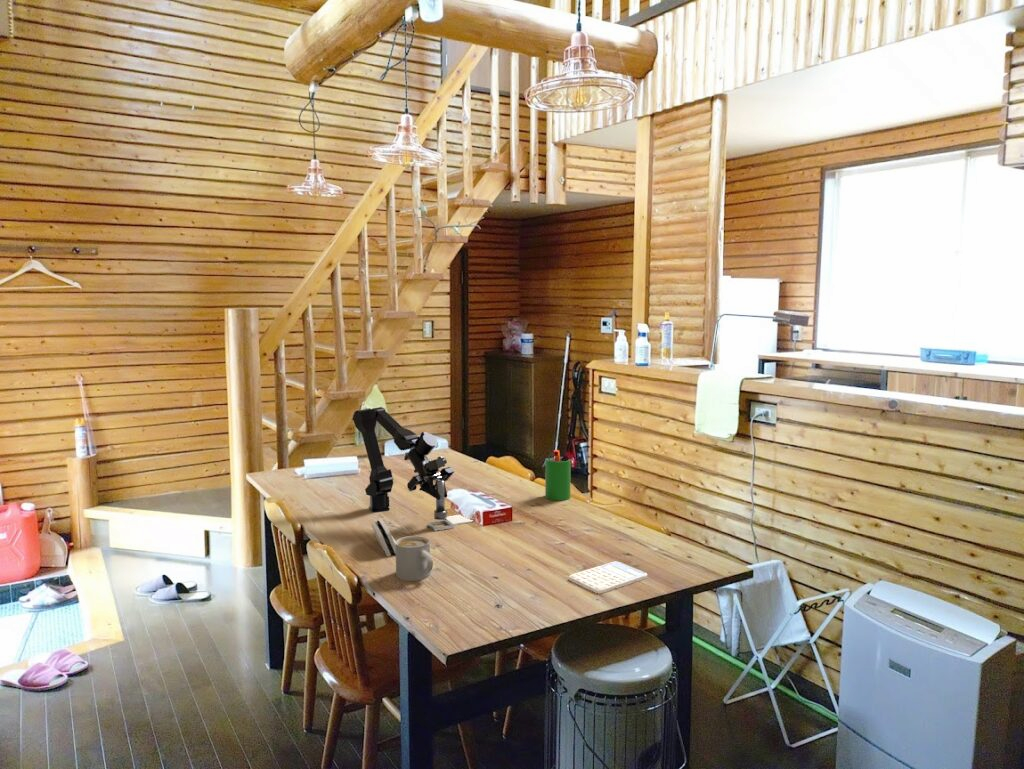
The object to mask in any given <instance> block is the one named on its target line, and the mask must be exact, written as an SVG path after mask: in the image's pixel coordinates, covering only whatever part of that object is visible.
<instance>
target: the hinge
mask: <svg viewBox="0 0 1024 769" xmlns="http://www.w3.org/2000/svg"><path fill="white" fill-rule="evenodd" d="M371 527H372V531H373V532H374V535H375V537H376V539H377V541H379V542H378V543H379V546H380V547H381V546H382V547H381V548H382V550H383V551H385V552H384V553H385V555H386V557H387V556H388V557H391V556H392V553H393V554H396V541H397V540H395V538H394V537H393V535H392V533H391V532H390V530H389V528H388V526H387V524H386V523H385V521H384V519H382V518H381V519H377V521H373V522H372V523H371Z"/></svg>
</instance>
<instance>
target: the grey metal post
mask: <svg viewBox="0 0 1024 769" xmlns="http://www.w3.org/2000/svg"><path fill="white" fill-rule="evenodd" d="M436 490H437V492H438V493H439V495H440V498H441V499H440V500H438V499H436V498H435V504H436V506H435V509H434V511H433V512H434V515H433V516H434V519H435V520H437V521H442V520H445V519H446V518H447V516H448V513H447V509H446V508H445V506H446V505H445V504H446V503H445V500H446V498H445V489H444V480H436Z"/></svg>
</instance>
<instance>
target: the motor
mask: <svg viewBox="0 0 1024 769" xmlns="http://www.w3.org/2000/svg"><path fill="white" fill-rule="evenodd" d="M553 457H554V460H551V459H550V457H547V458H545V459H544V460H545V475H544V476H545V480H544V481H545V486H544V488H545V489H544V490H545V491H544V492H545V499H547V500H551V501H566V500H570V499H571V481H572V480H571V466H572V465H571V463H572V462H571V460H572V459H571V458H569V459H568V460H566V461H565V460H561V454H560V450H559V449H554V450H553Z"/></svg>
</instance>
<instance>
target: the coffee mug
mask: <svg viewBox="0 0 1024 769" xmlns="http://www.w3.org/2000/svg"><path fill="white" fill-rule="evenodd" d="M430 540H431V539H429V538H428V537H425V536H422V535H421V536H420V535H409V536H405V537H404V536H403V537H400V538H398V539H397V540H395V541H396V553H395V575H396V578H397V579H398V580H401V581H405V582H417V581H421V580H425V579H427V578H428V577H430V575H431V571H432V570H433V567H434V560H433V559H434V558H433V556H432V554H431V545H430V544H431V542H430Z"/></svg>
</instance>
